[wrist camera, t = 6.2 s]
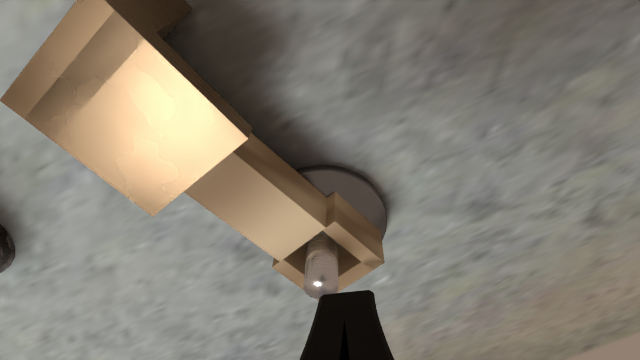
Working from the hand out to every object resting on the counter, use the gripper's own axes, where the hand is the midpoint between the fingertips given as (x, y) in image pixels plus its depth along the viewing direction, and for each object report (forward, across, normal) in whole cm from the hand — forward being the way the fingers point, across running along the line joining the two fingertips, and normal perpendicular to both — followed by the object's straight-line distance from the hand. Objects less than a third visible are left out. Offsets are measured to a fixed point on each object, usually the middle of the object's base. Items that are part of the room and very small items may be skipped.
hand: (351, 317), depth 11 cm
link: (+8, +4, 0) cm, 9 cm away
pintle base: (+9, +2, +3) cm, 9 cm away
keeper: (+9, +6, -5) cm, 12 cm away
